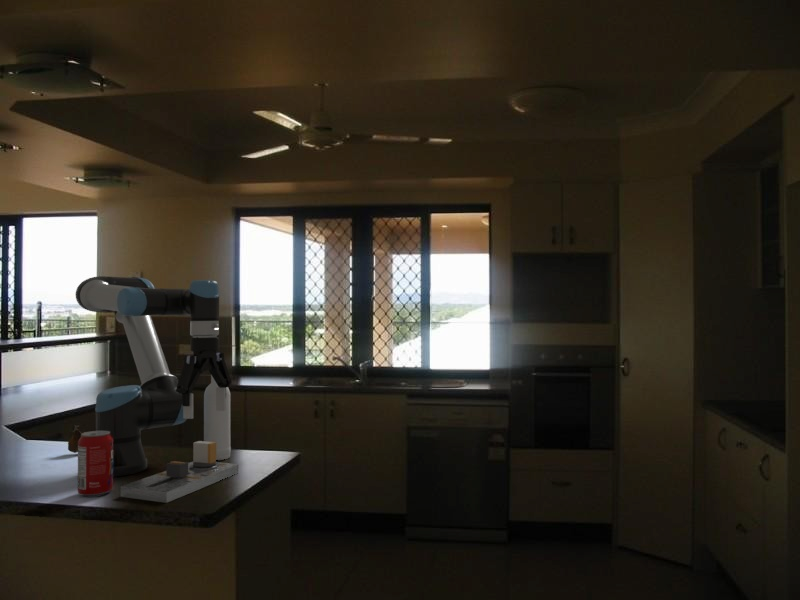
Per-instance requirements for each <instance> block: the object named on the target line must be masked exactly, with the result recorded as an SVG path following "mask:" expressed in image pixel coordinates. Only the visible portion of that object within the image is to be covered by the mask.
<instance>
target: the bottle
mask: <svg viewBox="0 0 800 600" xmlns="http://www.w3.org/2000/svg"><path fill="white" fill-rule="evenodd" d="M217 387H218V385H217V383H216V382H215V380H214V378H213V377H212V375H211V374H210V384H208V386H207V387H205V390H204V394H203V441H206V442H216V460H218V461H223V460H224V459H225V460H228V459H229V458H231V453H232V451H231V450H232V447H231V391H230V389H229V387H226V411H216V388H217Z"/></svg>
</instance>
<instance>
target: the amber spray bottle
mask: <svg viewBox="0 0 800 600" xmlns="http://www.w3.org/2000/svg"><path fill="white" fill-rule="evenodd" d="M79 427H80V425H77V424H76V425H73V427H72V431H71V432H73V434H72V435H71V438H70V439H68V441H67V445H68V446H67V451H69V452H71V453H74V454H77V453H78V441H79V439H80V438H81V434H82V433H83V432H81V431H80V430H79Z"/></svg>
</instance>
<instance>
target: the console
mask: <svg viewBox="0 0 800 600" xmlns="http://www.w3.org/2000/svg"><path fill="white" fill-rule="evenodd" d="M237 473H238V474H239V464H238V463H230V462H229V463H228V462H220V461H216V465H215V466H213V467H209V468H195V467H193V461H190V462H188V475H187V476H184V477H181V478H177V479H174V480H172V477H168V476H166V470H164V471H162V472H161V471H160V472H157V473H156V474H153V475H152V474H151V475H149V476H147V477H144V478H141V479H138V480H135V481H133V482H132V481H131V482H129V483H126V484H123V485H120V498H129V499H135V500H143V501H149V502H150V501H151V502H156V503H157V502H158V503H163V504H164V503H165V504H168V503H169V502H172V501H174V500H177V499H179V498H182V497H184V496H186V495H189V494H191V493H195V492H196V491H200V490H201V489H203V488H206V487H208V486H211V485H213V484H216V483H218V482H220V480H221V481H222V479H223V480H225V478H226V479H228V478H230V477H233V476H235V475H238V474H237ZM234 474H235V475H234ZM232 475H233V476H232ZM227 477H228V478H227Z"/></svg>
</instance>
